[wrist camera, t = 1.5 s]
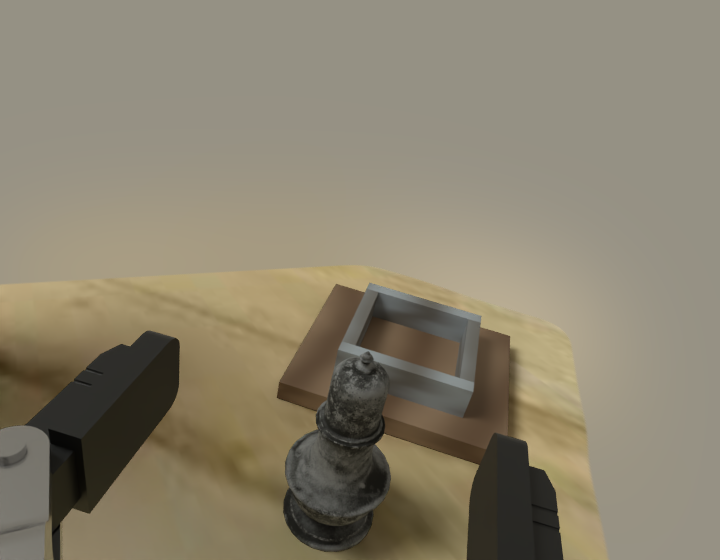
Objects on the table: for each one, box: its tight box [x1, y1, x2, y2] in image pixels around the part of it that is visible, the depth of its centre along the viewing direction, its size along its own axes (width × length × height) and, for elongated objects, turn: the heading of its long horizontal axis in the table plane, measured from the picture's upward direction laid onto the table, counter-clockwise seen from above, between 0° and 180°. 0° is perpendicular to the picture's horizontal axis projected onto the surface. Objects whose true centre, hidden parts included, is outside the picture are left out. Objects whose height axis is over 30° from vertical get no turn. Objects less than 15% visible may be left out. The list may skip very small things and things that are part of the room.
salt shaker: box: [283, 351, 391, 552], centre depth 29 cm, size 6×6×12 cm
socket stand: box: [277, 283, 510, 464], centre depth 43 cm, size 16×14×4 cm
